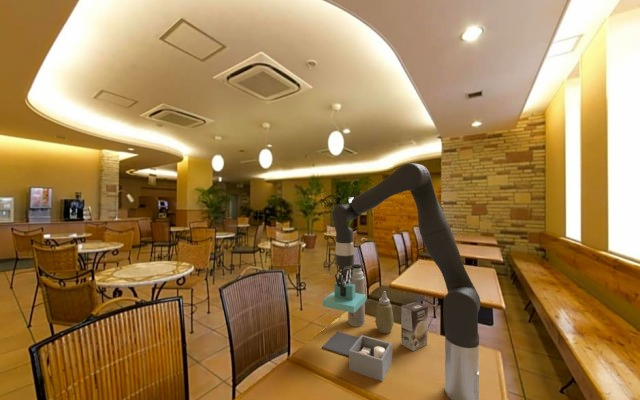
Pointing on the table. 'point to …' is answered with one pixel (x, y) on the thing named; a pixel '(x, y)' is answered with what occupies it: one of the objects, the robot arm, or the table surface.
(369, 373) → the storage box
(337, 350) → the rubber mat
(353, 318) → the thermos bottle
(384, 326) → the squeeze bottle
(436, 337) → the table surface
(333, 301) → the lid
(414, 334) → the coffee box
